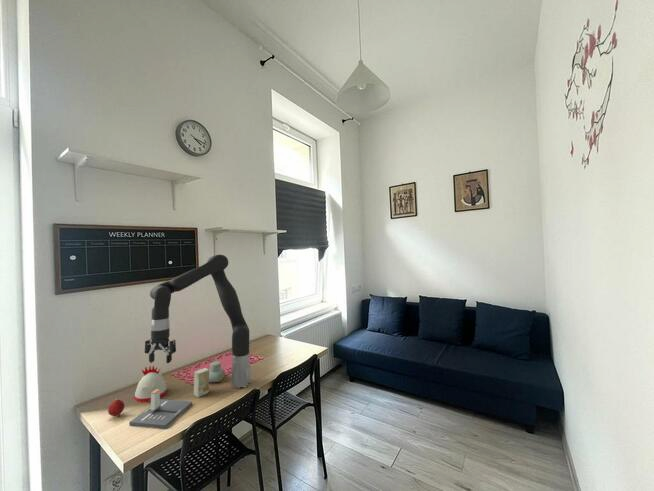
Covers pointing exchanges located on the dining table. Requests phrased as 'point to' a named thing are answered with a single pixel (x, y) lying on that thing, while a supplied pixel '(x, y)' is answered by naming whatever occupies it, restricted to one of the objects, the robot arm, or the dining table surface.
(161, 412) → the console
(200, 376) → the skincare box
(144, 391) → the kitchen timer
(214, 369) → the air freshener
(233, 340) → the robot arm
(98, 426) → the dining table surface
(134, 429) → the dining table surface
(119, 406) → the onion
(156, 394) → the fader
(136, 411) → the dining table surface
